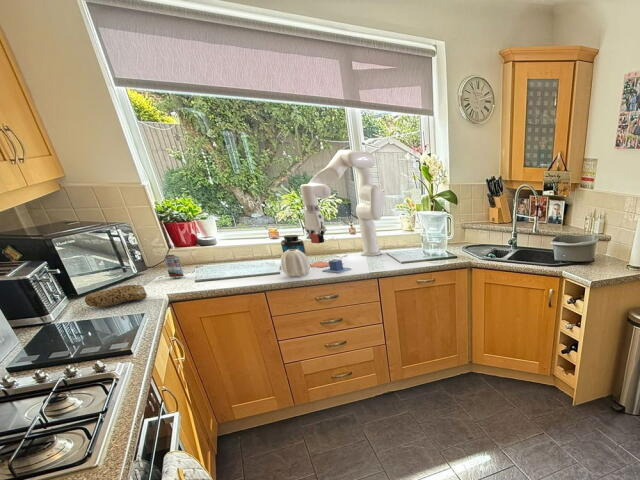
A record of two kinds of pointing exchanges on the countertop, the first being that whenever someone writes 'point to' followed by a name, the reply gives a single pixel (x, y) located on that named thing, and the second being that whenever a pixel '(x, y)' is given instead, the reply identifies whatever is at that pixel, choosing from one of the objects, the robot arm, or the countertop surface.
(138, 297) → the sponge
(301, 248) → the container
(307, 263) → the vase
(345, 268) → the blue mat
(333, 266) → the blue block
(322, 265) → the red mat
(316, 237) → the red block
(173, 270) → the beverage can
